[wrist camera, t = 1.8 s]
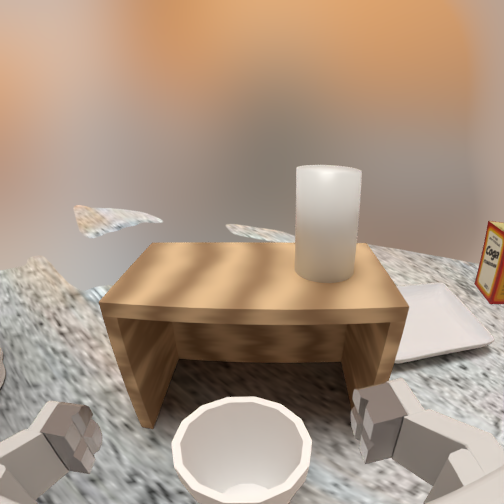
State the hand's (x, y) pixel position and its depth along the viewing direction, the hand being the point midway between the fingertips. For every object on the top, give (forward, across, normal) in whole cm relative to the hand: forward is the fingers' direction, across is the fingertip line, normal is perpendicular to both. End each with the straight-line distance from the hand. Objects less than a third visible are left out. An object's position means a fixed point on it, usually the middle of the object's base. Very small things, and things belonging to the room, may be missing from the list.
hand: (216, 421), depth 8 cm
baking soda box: (+45, -55, +24) cm, 75 cm away
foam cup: (+9, +2, +23) cm, 25 cm away
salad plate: (+37, -30, +23) cm, 53 cm away
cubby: (+26, 0, +21) cm, 34 cm away
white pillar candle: (+23, -9, +4) cm, 25 cm away
